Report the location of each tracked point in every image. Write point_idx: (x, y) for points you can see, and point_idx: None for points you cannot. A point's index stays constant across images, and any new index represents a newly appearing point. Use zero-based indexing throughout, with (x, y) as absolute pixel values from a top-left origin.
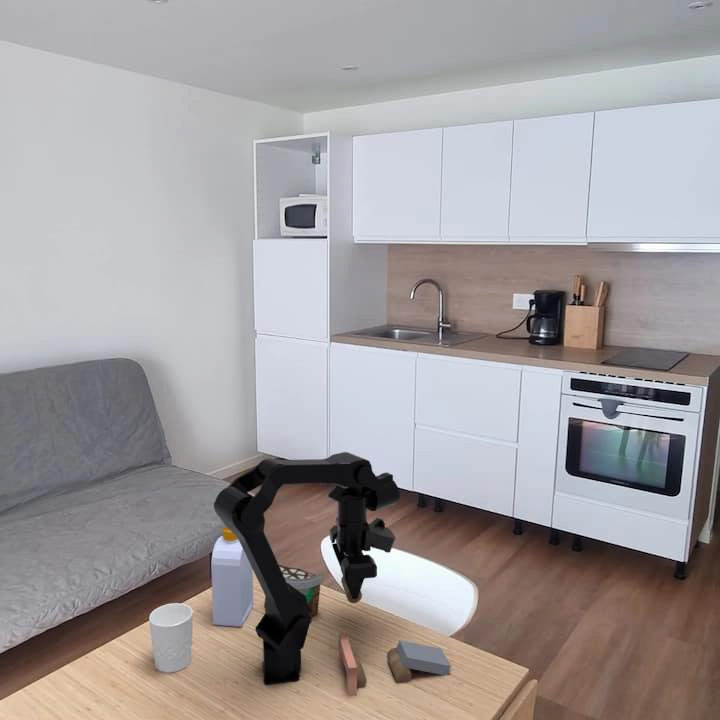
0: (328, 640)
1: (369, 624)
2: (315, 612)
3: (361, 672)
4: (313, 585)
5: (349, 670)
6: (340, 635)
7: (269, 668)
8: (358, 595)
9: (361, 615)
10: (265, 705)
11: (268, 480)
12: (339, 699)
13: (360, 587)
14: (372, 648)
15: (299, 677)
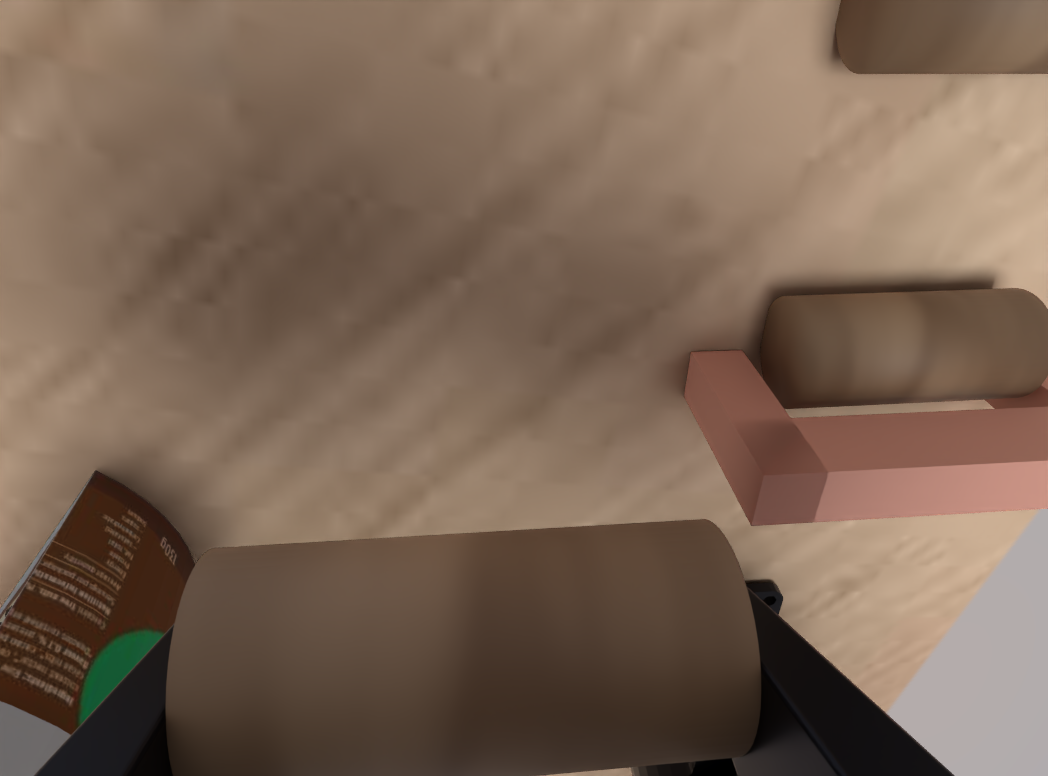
0: (449, 430)
1: (248, 87)
2: (114, 501)
3: (1036, 347)
4: None
5: None
6: (767, 516)
7: None
8: (777, 618)
9: (84, 134)
10: (867, 681)
11: None
12: None
13: (920, 756)
14: (617, 142)
15: (774, 590)
